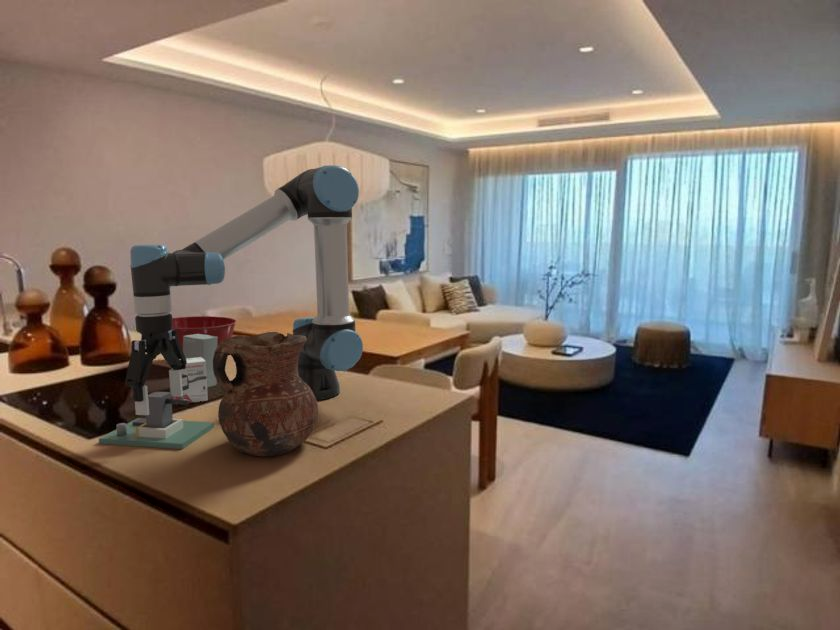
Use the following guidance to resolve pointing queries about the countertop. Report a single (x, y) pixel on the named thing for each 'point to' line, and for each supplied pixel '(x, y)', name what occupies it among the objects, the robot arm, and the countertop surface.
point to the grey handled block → (161, 409)
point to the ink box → (194, 380)
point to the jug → (264, 394)
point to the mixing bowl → (204, 327)
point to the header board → (157, 434)
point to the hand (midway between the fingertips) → (160, 405)
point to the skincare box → (202, 352)
